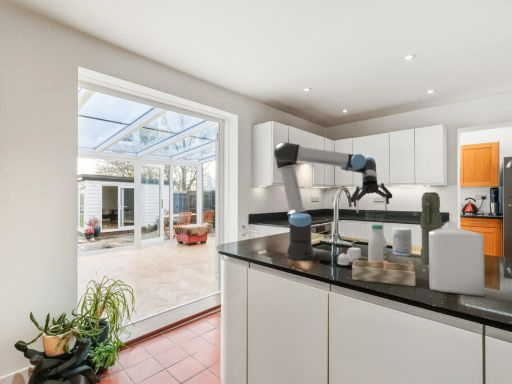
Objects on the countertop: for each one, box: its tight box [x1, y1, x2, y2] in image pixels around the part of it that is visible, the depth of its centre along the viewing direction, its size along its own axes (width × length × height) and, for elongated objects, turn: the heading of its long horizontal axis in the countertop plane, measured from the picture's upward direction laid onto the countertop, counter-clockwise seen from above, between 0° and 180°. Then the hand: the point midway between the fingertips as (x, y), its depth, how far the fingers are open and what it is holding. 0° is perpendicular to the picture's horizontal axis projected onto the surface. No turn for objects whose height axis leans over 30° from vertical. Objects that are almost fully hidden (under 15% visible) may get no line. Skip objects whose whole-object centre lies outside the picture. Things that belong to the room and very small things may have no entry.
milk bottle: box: [367, 224, 388, 262], centre depth 124 cm, size 8×8×20 cm
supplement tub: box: [392, 227, 413, 257], centre depth 154 cm, size 10×10×15 cm
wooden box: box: [351, 259, 416, 287], centre depth 110 cm, size 22×13×7 cm, turn 68°
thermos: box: [420, 191, 443, 266], centre depth 134 cm, size 9×12×35 cm
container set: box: [337, 247, 362, 266], centre depth 139 cm, size 20×5×6 cm, turn 139°
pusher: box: [384, 255, 389, 270], centre depth 109 cm, size 2×10×8 cm, turn 158°
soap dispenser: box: [428, 226, 486, 297], centre depth 98 cm, size 15×14×22 cm
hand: (371, 209), depth 137 cm, fingers open, 13 cm apart
